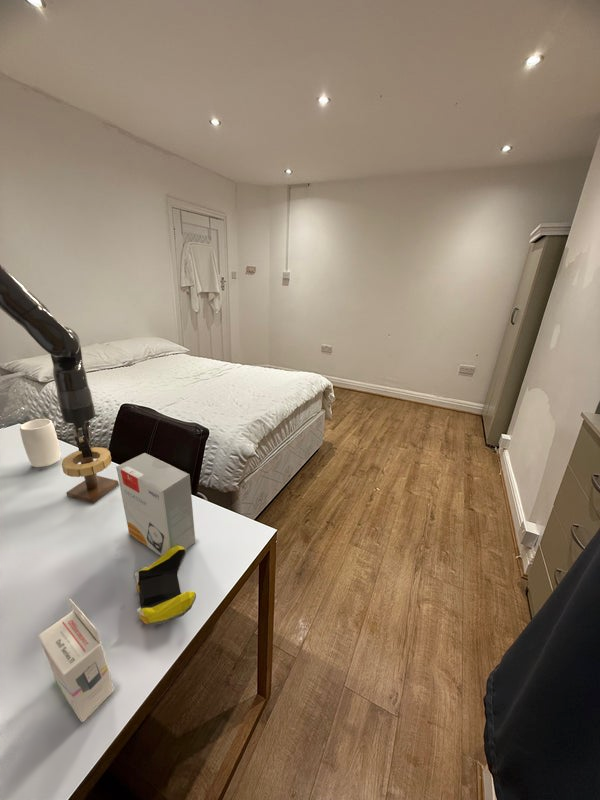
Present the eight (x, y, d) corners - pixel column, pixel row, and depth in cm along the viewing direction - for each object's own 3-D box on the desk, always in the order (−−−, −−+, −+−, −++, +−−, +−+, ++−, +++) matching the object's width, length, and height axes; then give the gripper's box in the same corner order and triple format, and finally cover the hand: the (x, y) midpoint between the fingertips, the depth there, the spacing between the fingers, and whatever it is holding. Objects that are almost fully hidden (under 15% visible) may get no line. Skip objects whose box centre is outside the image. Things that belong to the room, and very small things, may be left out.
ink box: (54, 684, 50) (29, 620, 45) (88, 655, 54) (69, 593, 49) (81, 725, 46) (57, 661, 40) (116, 691, 50) (99, 628, 44)
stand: (67, 496, 90) (58, 464, 86) (94, 478, 98) (87, 448, 94) (93, 503, 88) (85, 471, 84) (118, 484, 96) (113, 454, 92)
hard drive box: (127, 535, 78) (114, 465, 71) (155, 516, 84) (145, 451, 77) (171, 564, 71) (161, 490, 64) (197, 541, 77) (191, 472, 70)
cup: (25, 472, 99) (11, 431, 94) (38, 457, 107) (26, 419, 101) (56, 469, 101) (45, 429, 96) (67, 455, 109) (57, 417, 104)
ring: (52, 471, 86) (50, 464, 85) (89, 451, 96) (88, 444, 95) (86, 481, 83) (84, 473, 82) (121, 458, 93) (119, 451, 93)
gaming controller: (185, 558, 73) (136, 574, 68) (183, 540, 71) (133, 555, 66) (199, 618, 61) (141, 642, 56) (197, 597, 59) (136, 622, 54)
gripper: (62, 395, 91) (75, 448, 97) (56, 414, 79) (71, 473, 86) (93, 392, 94) (103, 443, 101) (91, 409, 83) (103, 466, 89)
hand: (88, 457), depth 93 cm, fingers closed on ring, 2 cm apart
